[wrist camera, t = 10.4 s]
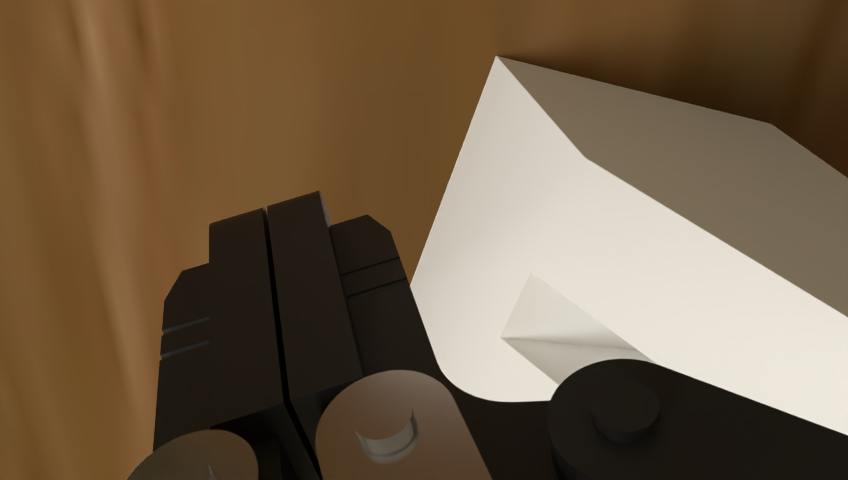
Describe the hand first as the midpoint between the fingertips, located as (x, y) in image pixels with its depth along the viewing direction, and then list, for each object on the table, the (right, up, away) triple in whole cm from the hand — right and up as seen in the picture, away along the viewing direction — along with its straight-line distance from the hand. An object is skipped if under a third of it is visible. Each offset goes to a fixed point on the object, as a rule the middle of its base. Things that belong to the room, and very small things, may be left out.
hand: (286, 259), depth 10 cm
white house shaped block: (+12, +3, +36) cm, 38 cm away
